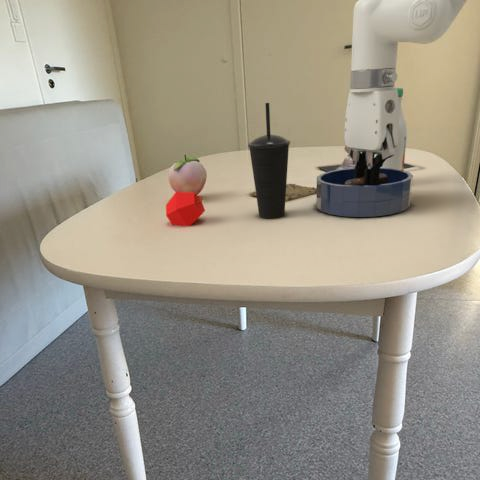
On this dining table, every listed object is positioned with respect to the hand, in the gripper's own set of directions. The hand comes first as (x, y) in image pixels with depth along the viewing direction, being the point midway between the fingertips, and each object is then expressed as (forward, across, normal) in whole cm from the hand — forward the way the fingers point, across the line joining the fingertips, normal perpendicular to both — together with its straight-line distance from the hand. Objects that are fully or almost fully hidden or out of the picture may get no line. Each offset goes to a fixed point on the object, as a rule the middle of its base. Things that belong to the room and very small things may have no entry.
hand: (365, 187), depth 87 cm
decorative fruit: (+4, +32, +25) cm, 41 cm away
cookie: (+4, +20, +6) cm, 21 cm away
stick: (0, 0, 0) cm, 0 cm away
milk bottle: (+4, +9, -14) cm, 17 cm away
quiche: (+4, +28, -26) cm, 38 cm away
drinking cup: (+4, +6, +18) cm, 19 cm away
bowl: (+4, -1, +1) cm, 4 cm away
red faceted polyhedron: (+4, +12, +33) cm, 36 cm away
